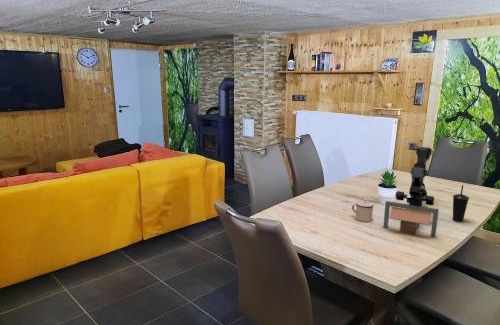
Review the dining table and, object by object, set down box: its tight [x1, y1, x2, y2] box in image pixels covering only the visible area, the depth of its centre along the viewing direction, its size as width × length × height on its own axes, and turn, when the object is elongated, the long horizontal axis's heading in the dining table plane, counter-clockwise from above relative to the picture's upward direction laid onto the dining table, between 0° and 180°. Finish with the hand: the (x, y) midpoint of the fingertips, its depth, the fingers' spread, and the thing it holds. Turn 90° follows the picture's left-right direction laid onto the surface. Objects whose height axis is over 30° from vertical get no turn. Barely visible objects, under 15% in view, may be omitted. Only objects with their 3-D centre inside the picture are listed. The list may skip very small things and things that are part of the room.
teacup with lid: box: [351, 198, 374, 223], centre depth 194 cm, size 12×9×12 cm
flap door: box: [389, 206, 432, 226], centre depth 173 cm, size 1×18×6 cm
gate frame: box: [383, 200, 439, 238], centre depth 176 cm, size 2×24×14 cm, turn 60°
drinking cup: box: [452, 184, 470, 223], centre depth 189 cm, size 8×8×20 cm
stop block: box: [399, 209, 420, 236], centre depth 180 cm, size 14×7×8 cm, turn 147°
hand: (412, 212), depth 186 cm, fingers closed, pressing on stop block
